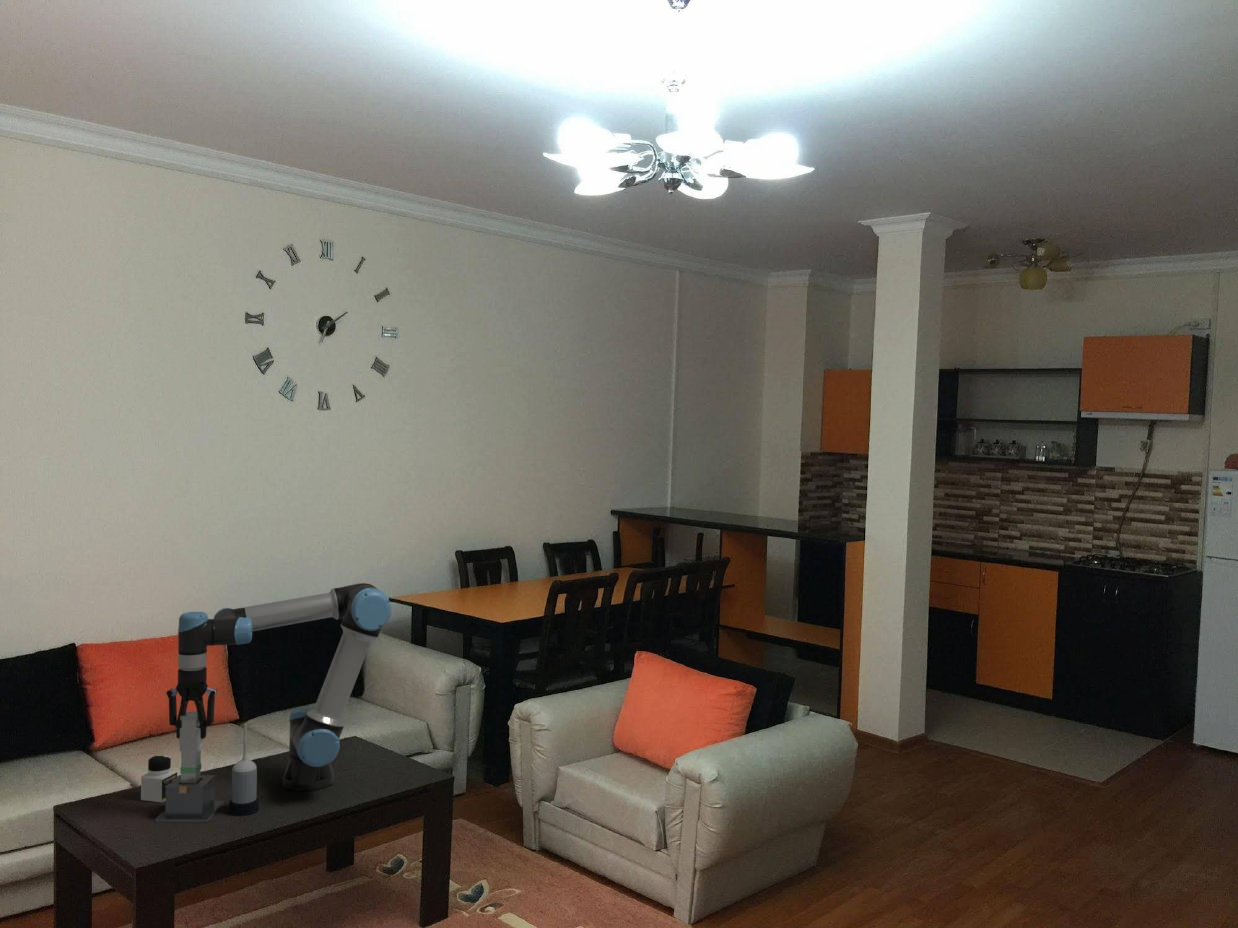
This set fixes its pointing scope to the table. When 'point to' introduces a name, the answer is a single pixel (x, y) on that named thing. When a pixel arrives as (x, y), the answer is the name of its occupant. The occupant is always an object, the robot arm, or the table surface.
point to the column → (190, 749)
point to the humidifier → (244, 785)
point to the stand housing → (190, 801)
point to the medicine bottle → (157, 779)
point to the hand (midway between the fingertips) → (191, 749)
